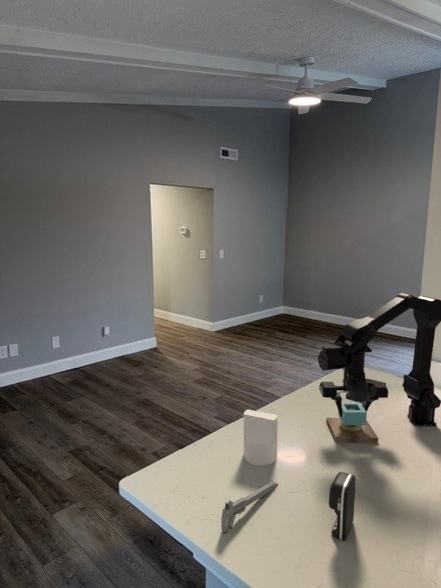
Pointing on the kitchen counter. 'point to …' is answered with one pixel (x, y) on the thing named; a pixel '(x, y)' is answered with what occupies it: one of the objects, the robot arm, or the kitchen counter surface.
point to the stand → (351, 431)
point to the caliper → (242, 505)
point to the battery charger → (342, 503)
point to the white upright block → (260, 437)
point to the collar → (353, 414)
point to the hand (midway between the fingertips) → (351, 416)
